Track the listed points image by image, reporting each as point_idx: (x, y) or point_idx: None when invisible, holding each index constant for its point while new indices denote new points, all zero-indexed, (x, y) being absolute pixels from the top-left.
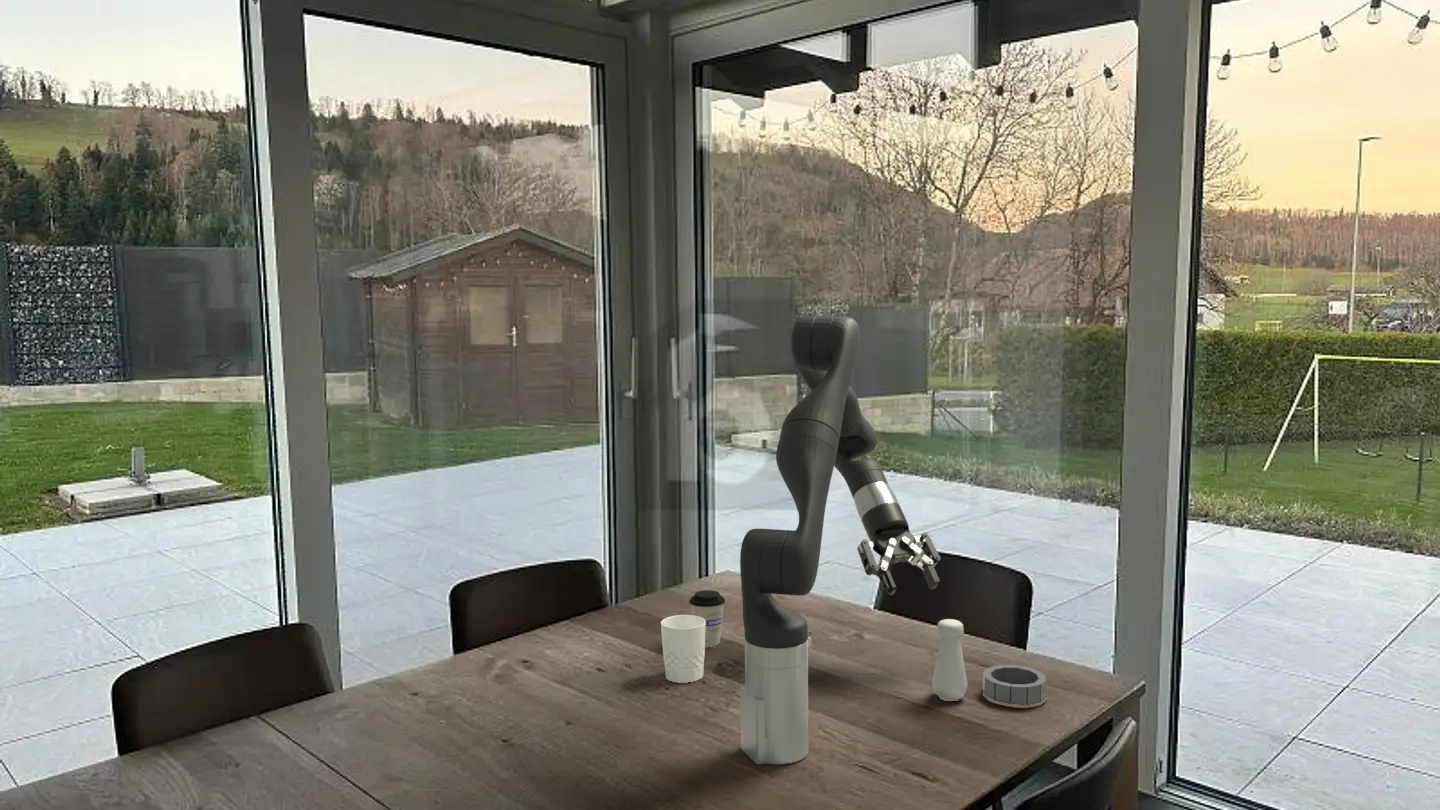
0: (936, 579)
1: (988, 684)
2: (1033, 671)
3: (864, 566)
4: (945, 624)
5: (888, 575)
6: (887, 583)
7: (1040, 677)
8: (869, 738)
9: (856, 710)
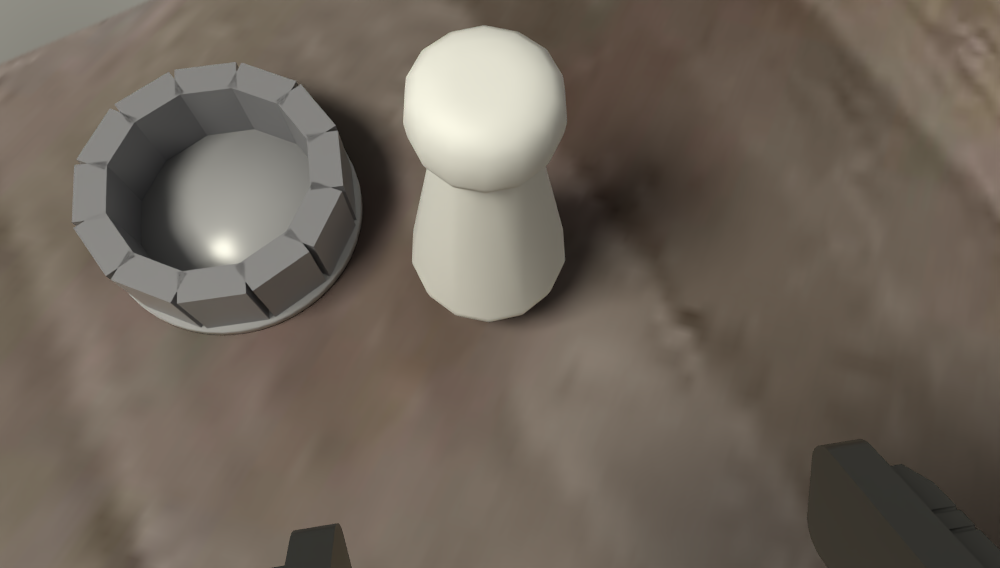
0: (299, 551)
1: (345, 175)
2: (96, 197)
3: None
4: (535, 54)
5: (958, 549)
6: (932, 504)
7: (117, 134)
8: (893, 39)
9: (893, 247)
